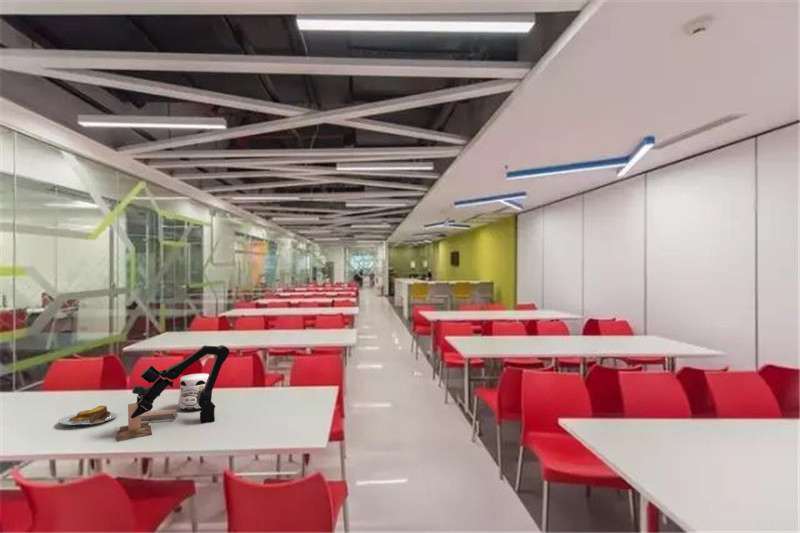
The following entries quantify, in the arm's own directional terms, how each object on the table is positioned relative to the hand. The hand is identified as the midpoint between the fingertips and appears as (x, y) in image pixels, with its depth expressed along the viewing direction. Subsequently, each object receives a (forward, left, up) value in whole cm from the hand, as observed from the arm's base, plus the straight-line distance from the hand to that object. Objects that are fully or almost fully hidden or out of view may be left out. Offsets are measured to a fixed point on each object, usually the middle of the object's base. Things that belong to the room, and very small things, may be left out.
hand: (131, 415), depth 213 cm
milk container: (-25, -34, -9) cm, 44 cm away
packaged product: (-8, -20, -10) cm, 24 cm away
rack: (-1, 0, -9) cm, 9 cm away
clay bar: (-1, 0, -8) cm, 8 cm away
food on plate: (+25, -31, -10) cm, 41 cm away
